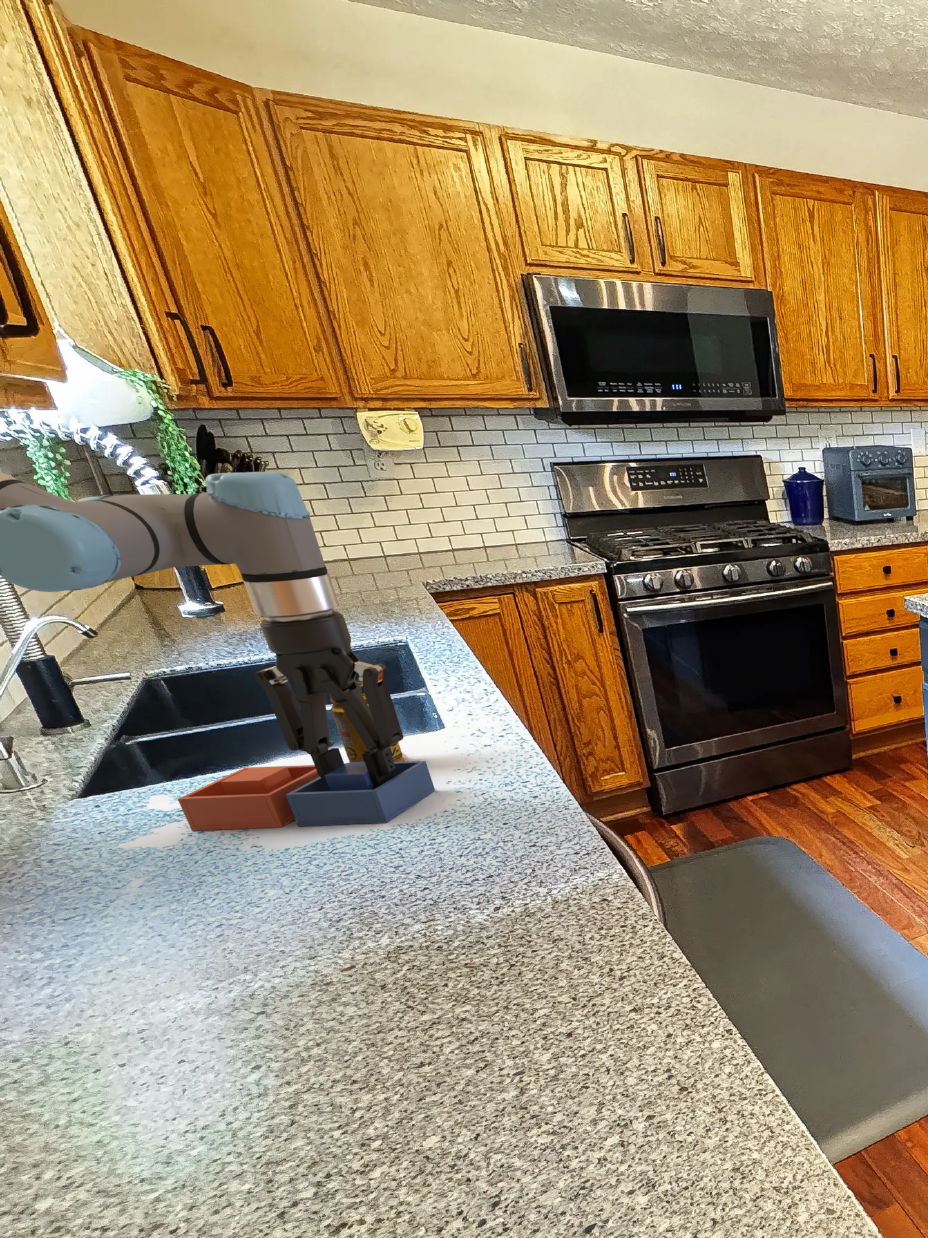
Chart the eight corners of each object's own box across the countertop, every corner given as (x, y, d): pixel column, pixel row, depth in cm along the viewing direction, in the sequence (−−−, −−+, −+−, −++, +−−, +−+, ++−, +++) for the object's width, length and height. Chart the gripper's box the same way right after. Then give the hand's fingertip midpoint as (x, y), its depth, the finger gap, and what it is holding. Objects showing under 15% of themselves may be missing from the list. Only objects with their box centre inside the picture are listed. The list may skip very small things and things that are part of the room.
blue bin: (298, 826, 104) (285, 794, 102) (354, 793, 113) (343, 763, 112) (387, 822, 105) (375, 791, 103) (435, 790, 114) (425, 760, 112)
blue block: (336, 809, 106) (324, 775, 105) (360, 794, 111) (349, 762, 109) (375, 807, 107) (363, 773, 105) (397, 793, 111) (386, 760, 109)
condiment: (412, 766, 122) (385, 684, 118) (337, 782, 117) (306, 697, 112) (402, 753, 127) (376, 674, 122) (330, 768, 122) (299, 686, 117)
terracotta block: (234, 815, 106) (220, 781, 104) (262, 800, 110) (249, 767, 108) (273, 813, 106) (260, 780, 104) (300, 799, 110) (287, 766, 108)
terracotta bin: (191, 831, 103) (177, 798, 101) (256, 797, 112) (244, 767, 111) (282, 827, 104) (269, 795, 102) (339, 793, 113) (328, 764, 111)
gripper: (400, 606, 103) (456, 784, 113) (244, 610, 102) (314, 790, 111) (359, 619, 97) (423, 808, 106) (191, 623, 95) (271, 814, 104)
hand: (367, 798), depth 109 cm, fingers closed on blue block, 4 cm apart
